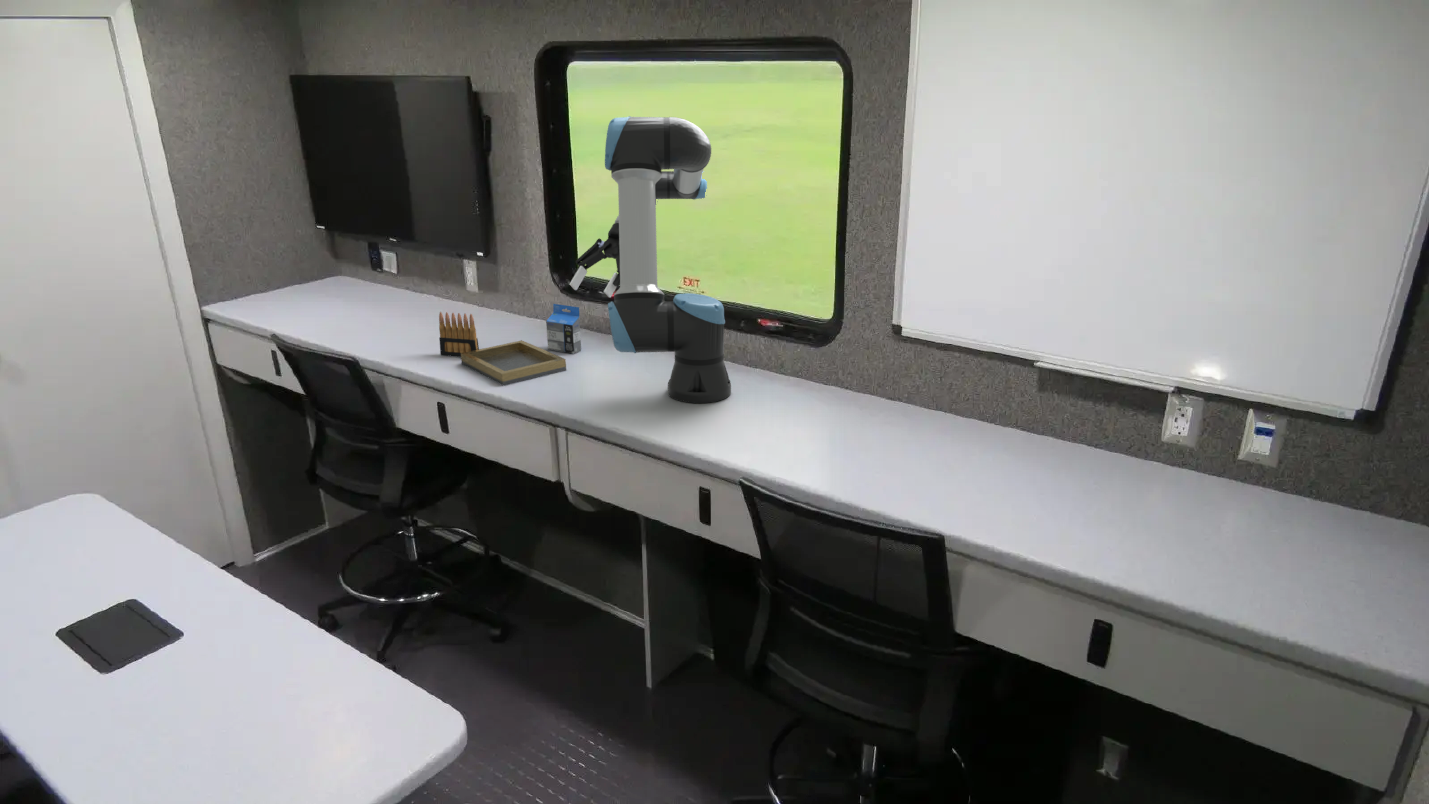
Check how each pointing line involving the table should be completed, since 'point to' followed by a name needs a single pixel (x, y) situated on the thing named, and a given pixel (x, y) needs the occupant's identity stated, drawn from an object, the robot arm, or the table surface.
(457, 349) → the ammunition clip
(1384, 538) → the table surface
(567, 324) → the blue and grey box
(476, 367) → the shallow wooden tray
